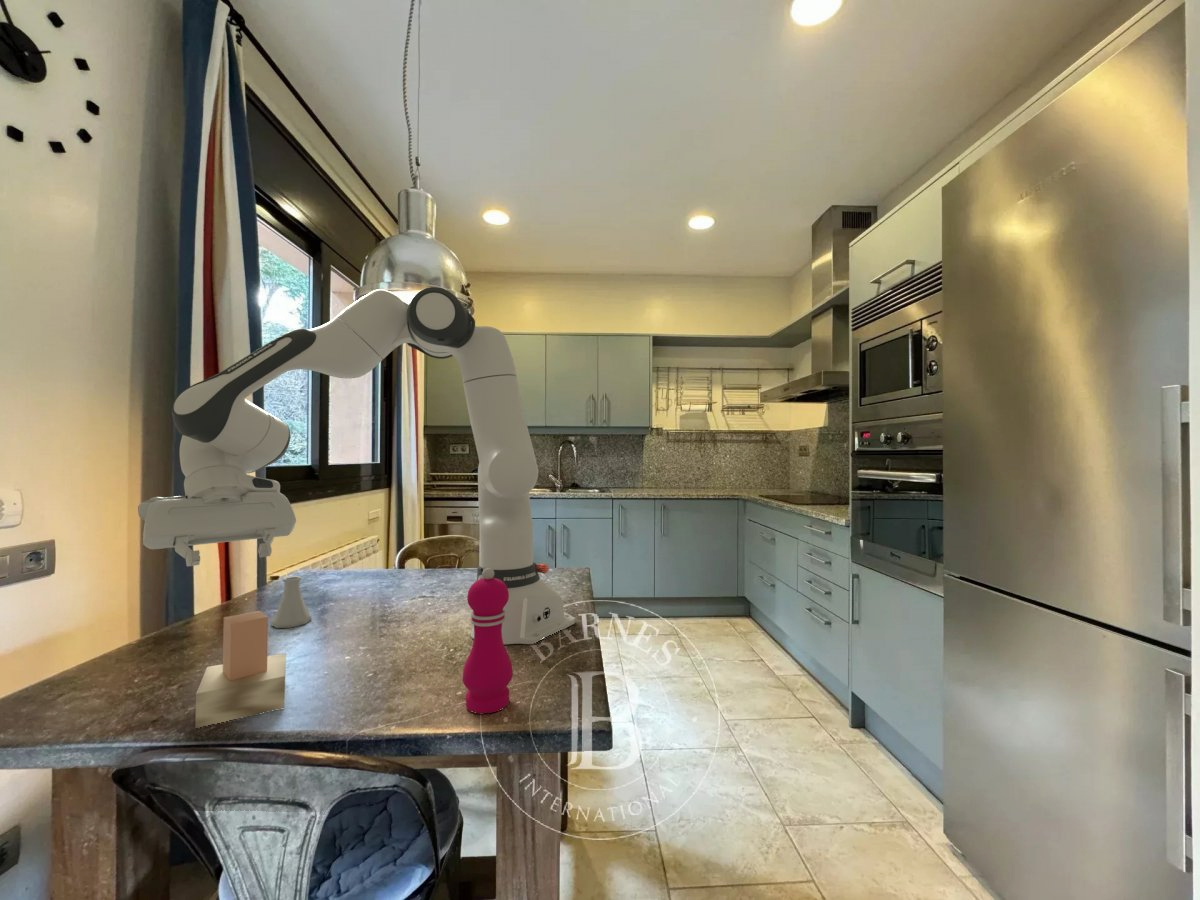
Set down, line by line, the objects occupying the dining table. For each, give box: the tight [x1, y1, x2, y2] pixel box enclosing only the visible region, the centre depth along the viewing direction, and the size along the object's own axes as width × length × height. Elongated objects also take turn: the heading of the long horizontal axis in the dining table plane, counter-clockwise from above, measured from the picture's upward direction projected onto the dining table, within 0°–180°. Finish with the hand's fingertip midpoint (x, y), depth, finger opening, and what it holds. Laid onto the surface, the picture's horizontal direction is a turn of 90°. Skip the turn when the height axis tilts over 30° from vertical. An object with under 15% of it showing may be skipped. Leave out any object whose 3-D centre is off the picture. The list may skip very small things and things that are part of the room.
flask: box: [270, 576, 312, 629], centre depth 108 cm, size 7×7×10 cm
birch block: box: [194, 652, 287, 730], centre depth 72 cm, size 10×10×5 cm
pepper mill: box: [461, 568, 514, 714], centre depth 72 cm, size 7×7×20 cm
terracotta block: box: [222, 610, 269, 681], centre depth 72 cm, size 4×4×8 cm
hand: (231, 559), depth 79 cm, fingers open, 8 cm apart
